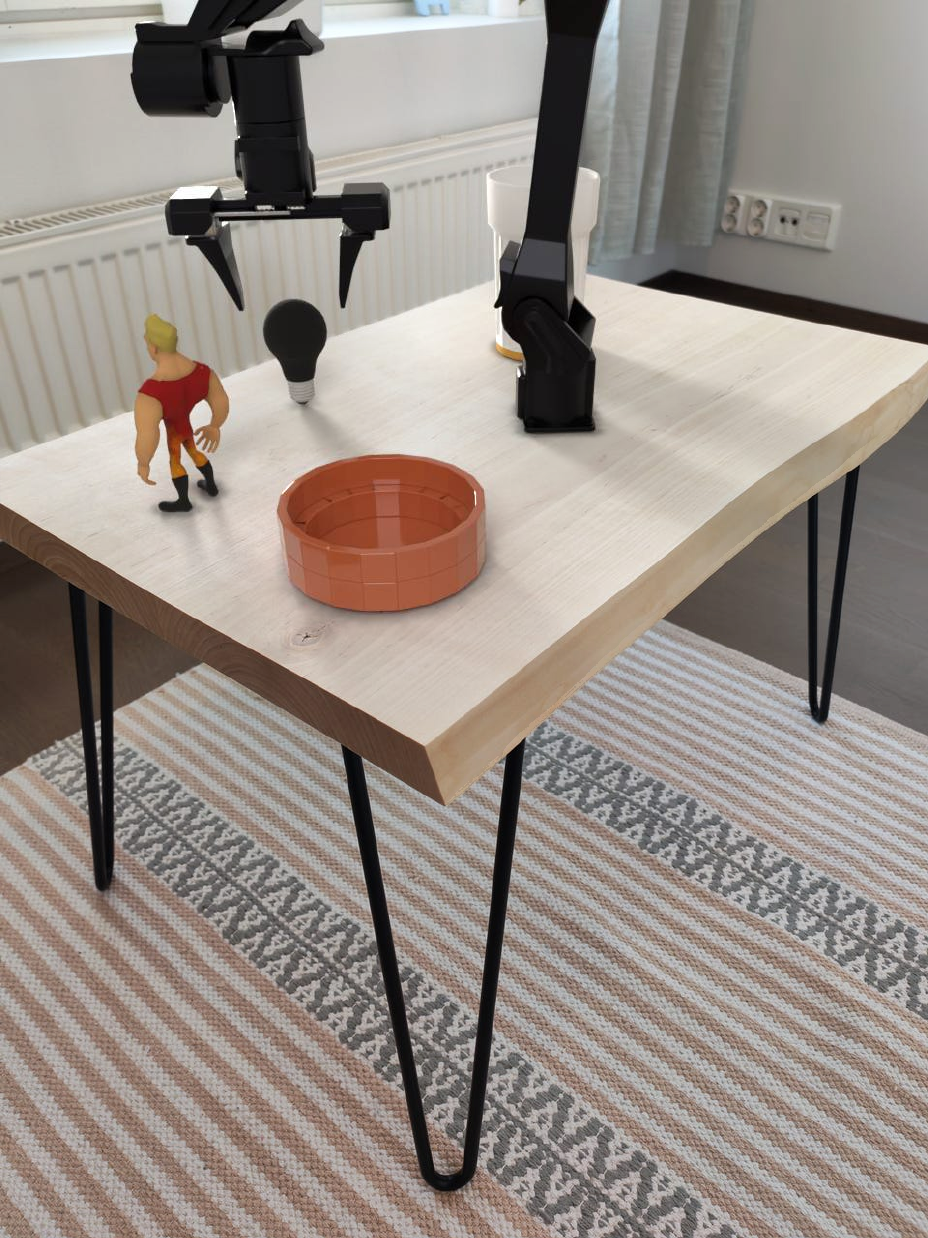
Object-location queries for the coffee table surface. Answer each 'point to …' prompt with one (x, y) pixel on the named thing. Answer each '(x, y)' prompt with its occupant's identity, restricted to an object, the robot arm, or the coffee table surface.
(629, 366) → the coffee table surface
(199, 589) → the coffee table surface
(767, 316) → the coffee table surface
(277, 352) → the light bulb
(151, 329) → the action figure
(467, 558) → the bowl
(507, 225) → the cup
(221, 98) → the robot arm
